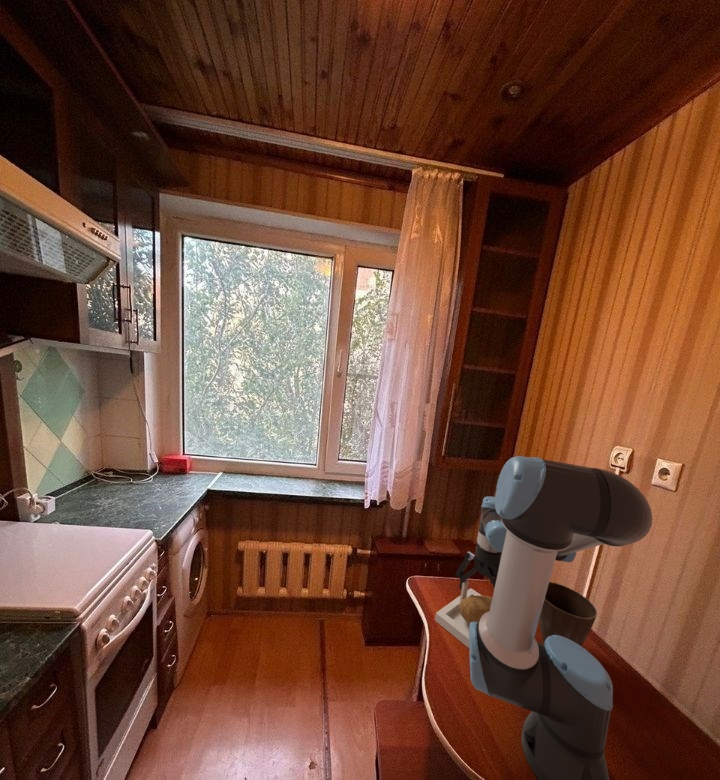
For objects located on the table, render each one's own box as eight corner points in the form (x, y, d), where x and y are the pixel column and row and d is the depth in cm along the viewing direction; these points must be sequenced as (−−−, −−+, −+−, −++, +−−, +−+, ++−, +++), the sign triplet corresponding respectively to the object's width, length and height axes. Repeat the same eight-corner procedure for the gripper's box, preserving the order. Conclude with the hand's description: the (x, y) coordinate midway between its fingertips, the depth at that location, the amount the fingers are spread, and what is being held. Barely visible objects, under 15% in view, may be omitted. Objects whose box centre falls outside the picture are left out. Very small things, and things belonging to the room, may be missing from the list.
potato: (507, 630, 95) (509, 605, 95) (471, 640, 90) (474, 613, 90) (484, 608, 105) (486, 585, 104) (451, 616, 100) (453, 592, 99)
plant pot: (570, 634, 98) (578, 587, 98) (600, 679, 84) (609, 623, 83) (522, 624, 100) (529, 577, 100) (543, 665, 85) (551, 611, 85)
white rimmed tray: (489, 664, 84) (490, 653, 84) (434, 620, 97) (436, 611, 97) (520, 628, 98) (522, 619, 98) (469, 594, 112) (470, 586, 112)
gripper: (533, 562, 90) (523, 633, 91) (462, 527, 108) (453, 586, 109) (523, 571, 85) (512, 645, 86) (450, 532, 103) (441, 594, 104)
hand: (479, 612), depth 97 cm, fingers open, 11 cm apart
